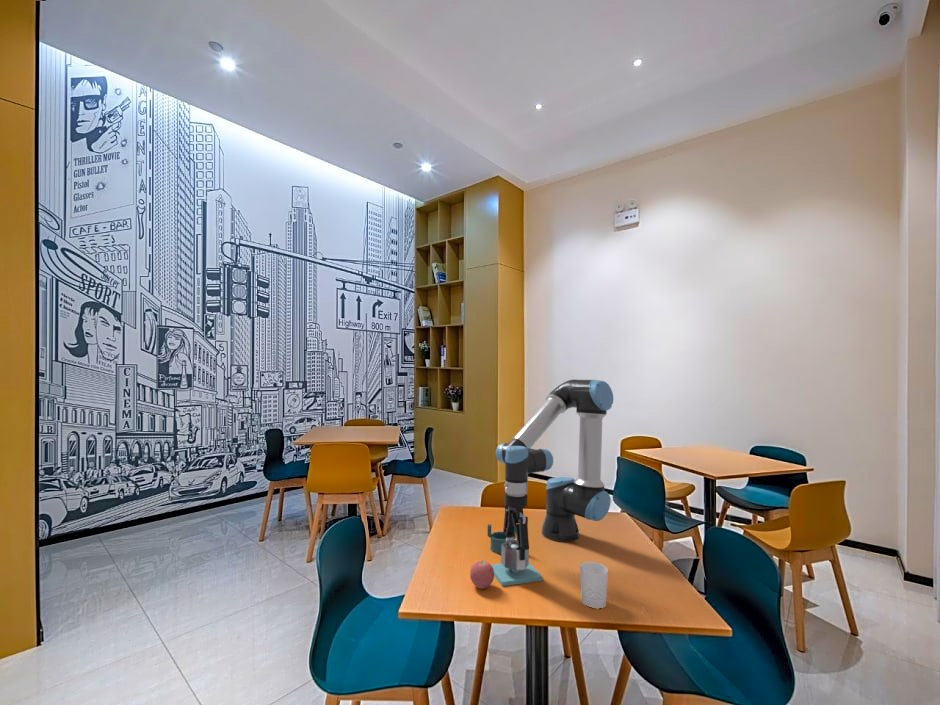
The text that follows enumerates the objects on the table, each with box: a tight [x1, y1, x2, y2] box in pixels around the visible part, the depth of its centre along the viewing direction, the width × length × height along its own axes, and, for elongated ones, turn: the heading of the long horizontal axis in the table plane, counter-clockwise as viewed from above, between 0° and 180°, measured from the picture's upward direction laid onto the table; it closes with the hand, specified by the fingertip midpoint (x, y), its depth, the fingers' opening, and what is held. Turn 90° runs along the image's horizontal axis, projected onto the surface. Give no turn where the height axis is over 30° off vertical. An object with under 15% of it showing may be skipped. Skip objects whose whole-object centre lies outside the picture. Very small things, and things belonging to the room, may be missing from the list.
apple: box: [469, 560, 495, 589], centre depth 128 cm, size 7×7×8 cm
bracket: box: [486, 524, 517, 555], centre depth 156 cm, size 9×9×9 cm
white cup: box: [579, 561, 609, 609], centre depth 120 cm, size 8×8×10 cm
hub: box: [500, 539, 530, 570], centre depth 136 cm, size 8×8×6 cm
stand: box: [491, 544, 544, 587], centre depth 136 cm, size 14×12×9 cm
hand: (515, 562), depth 136 cm, fingers closed on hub, 8 cm apart
